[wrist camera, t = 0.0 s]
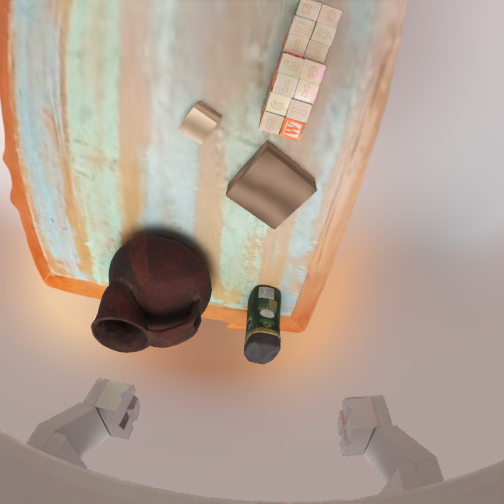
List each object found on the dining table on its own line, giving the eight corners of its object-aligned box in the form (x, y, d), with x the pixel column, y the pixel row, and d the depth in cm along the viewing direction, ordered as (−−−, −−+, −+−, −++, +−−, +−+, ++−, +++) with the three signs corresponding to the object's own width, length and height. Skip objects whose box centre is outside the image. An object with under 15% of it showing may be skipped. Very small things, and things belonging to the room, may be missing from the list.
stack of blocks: (297, 1, 39) (303, -7, 30) (333, 13, 40) (349, 10, 31) (261, 109, 53) (257, 130, 44) (294, 119, 54) (299, 142, 44)
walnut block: (267, 140, 57) (266, 150, 53) (314, 178, 61) (316, 190, 57) (228, 183, 63) (225, 195, 59) (274, 215, 68) (274, 229, 64)
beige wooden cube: (199, 100, 52) (193, 107, 49) (221, 115, 54) (217, 123, 50) (184, 120, 55) (177, 129, 51) (206, 135, 57) (200, 144, 53)
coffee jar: (272, 311, 88) (270, 369, 74) (245, 304, 87) (239, 363, 73) (285, 288, 82) (285, 350, 68) (255, 281, 81) (250, 342, 67)
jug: (208, 304, 88) (192, 384, 69) (123, 283, 85) (92, 356, 66) (224, 235, 72) (206, 325, 53) (120, 211, 69) (72, 290, 50)
